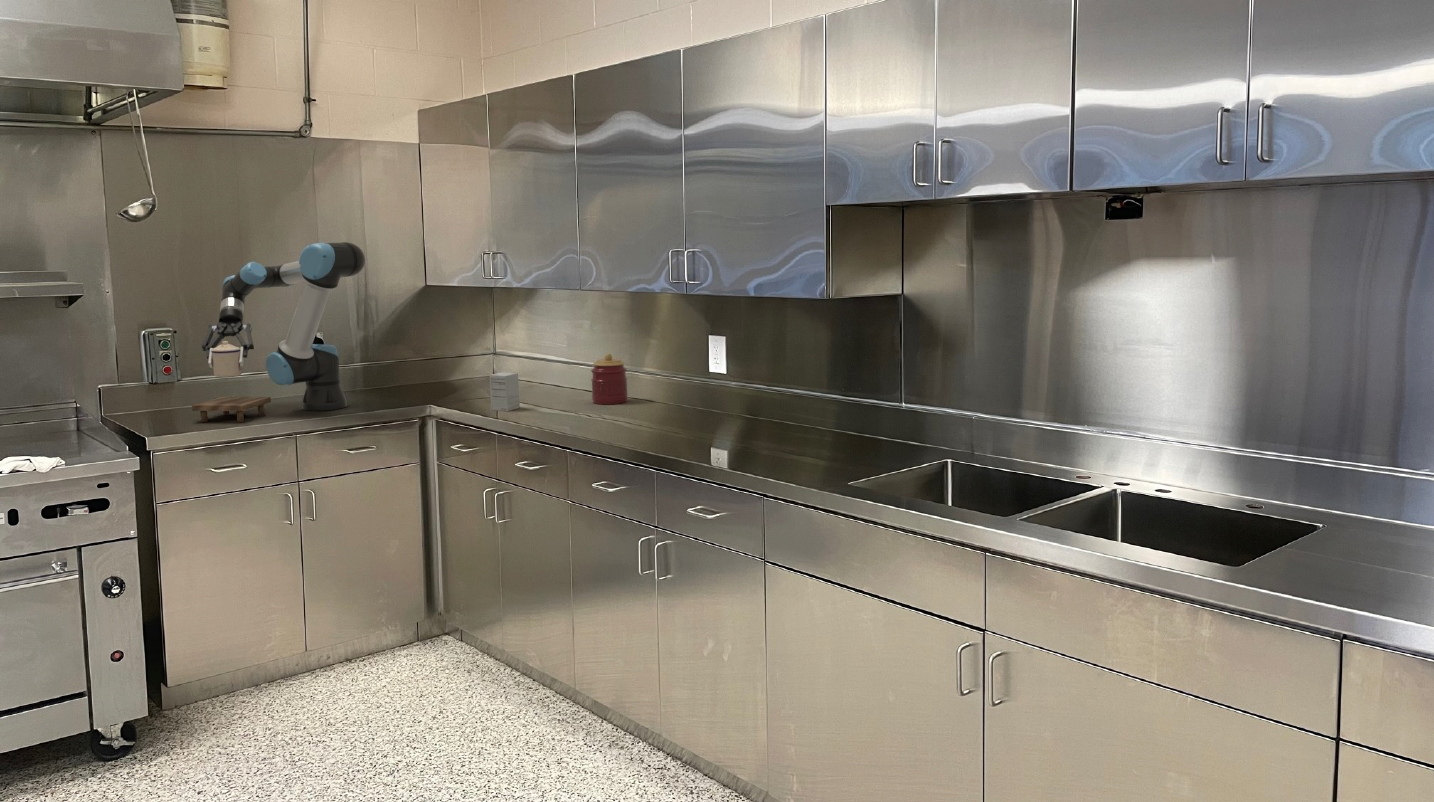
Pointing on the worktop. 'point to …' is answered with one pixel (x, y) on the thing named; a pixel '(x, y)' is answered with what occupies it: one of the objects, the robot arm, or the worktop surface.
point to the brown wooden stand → (231, 406)
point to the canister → (609, 381)
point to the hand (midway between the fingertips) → (225, 364)
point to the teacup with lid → (226, 360)
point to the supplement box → (504, 391)
